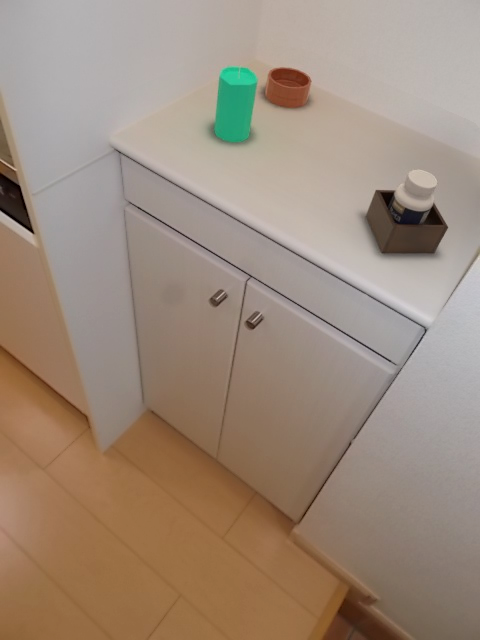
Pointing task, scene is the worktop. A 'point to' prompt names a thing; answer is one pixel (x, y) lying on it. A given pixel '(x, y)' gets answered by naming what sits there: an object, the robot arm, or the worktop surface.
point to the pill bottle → (413, 198)
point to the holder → (403, 228)
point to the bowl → (287, 87)
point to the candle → (235, 103)
